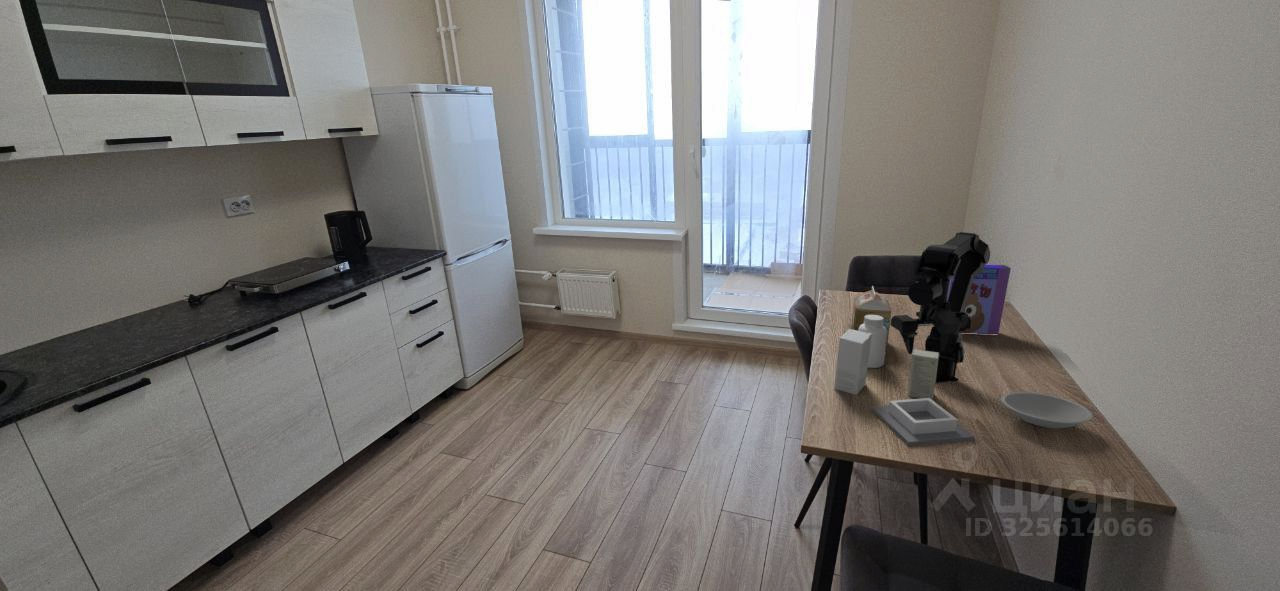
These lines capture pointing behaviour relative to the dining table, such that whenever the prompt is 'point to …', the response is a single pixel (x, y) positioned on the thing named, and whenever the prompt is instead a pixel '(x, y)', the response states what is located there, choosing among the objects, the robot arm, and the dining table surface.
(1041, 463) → the dining table surface
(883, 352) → the pill bottle
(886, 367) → the dining table surface
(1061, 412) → the dish
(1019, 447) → the dining table surface
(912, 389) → the skincare box
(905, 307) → the dining table surface
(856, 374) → the skincare box
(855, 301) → the milk carton
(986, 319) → the cereal box
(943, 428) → the socket stand
